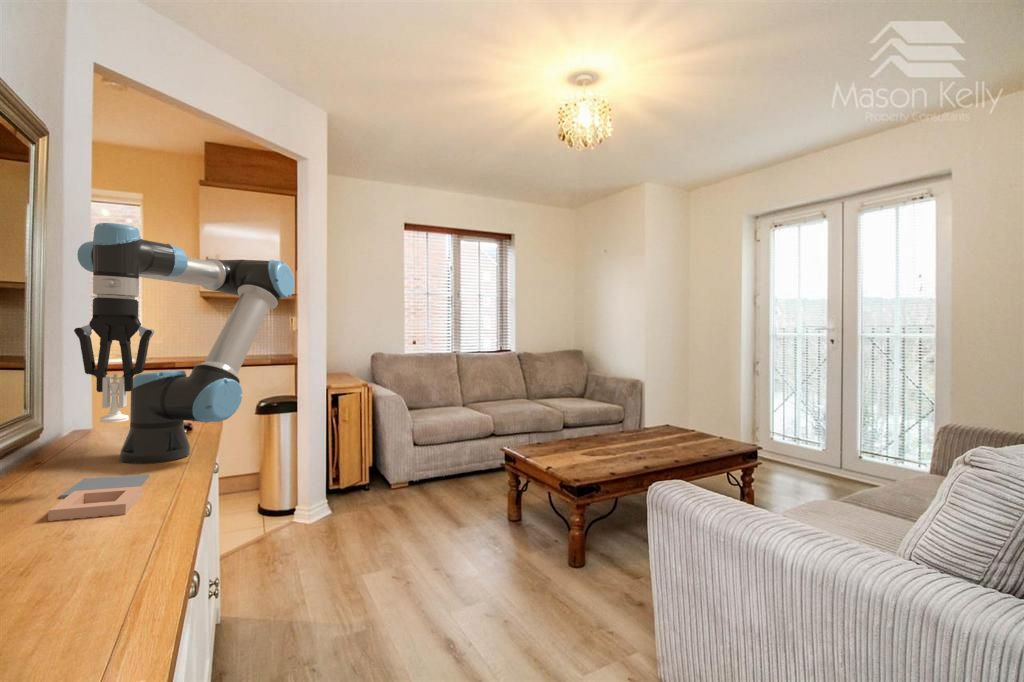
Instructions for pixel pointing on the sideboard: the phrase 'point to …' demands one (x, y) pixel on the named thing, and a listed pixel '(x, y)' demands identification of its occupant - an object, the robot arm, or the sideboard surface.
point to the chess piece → (114, 405)
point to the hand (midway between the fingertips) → (114, 406)
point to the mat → (107, 483)
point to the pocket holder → (96, 503)
